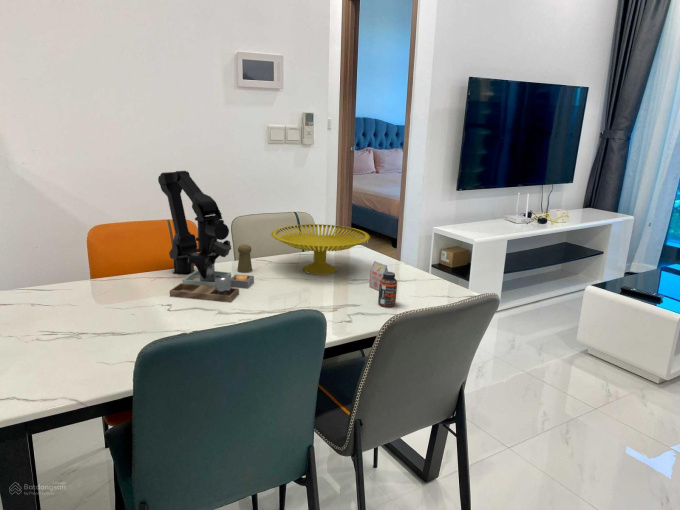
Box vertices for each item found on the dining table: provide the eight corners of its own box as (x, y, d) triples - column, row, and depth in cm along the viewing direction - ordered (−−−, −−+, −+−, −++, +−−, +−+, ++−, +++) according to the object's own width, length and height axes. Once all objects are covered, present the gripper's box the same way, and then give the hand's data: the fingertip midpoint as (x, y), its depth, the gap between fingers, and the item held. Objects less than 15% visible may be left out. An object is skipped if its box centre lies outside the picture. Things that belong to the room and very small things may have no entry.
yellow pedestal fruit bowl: (375, 261, 226) (377, 228, 222) (358, 290, 188) (360, 250, 184) (288, 252, 235) (289, 220, 231) (255, 278, 197) (255, 240, 193)
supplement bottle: (384, 308, 171) (386, 276, 168) (374, 302, 176) (376, 271, 173) (398, 306, 174) (401, 274, 171) (389, 300, 179) (391, 269, 176)
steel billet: (197, 284, 186) (197, 265, 184) (203, 279, 191) (203, 261, 189) (211, 285, 185) (211, 266, 183) (217, 281, 190) (216, 263, 188)
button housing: (228, 289, 183) (228, 280, 182) (235, 283, 190) (235, 274, 189) (247, 291, 182) (247, 281, 181) (253, 285, 189) (253, 275, 188)
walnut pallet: (169, 299, 171) (169, 290, 171) (181, 291, 179) (180, 283, 178) (230, 305, 168) (230, 296, 168) (239, 296, 176) (239, 288, 175)
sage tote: (182, 288, 182) (182, 280, 182) (198, 277, 195) (197, 269, 194) (217, 291, 181) (217, 283, 180) (231, 280, 193) (231, 272, 192)
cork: (254, 270, 207) (254, 243, 204) (250, 274, 201) (250, 247, 198) (239, 269, 207) (239, 242, 204) (235, 273, 201) (234, 246, 198)
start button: (234, 285, 184) (234, 277, 183) (238, 282, 188) (238, 274, 187) (245, 286, 184) (245, 278, 183) (248, 283, 187) (248, 275, 187)
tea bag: (376, 285, 194) (378, 260, 192) (388, 290, 189) (390, 264, 187) (369, 287, 192) (370, 261, 190) (381, 292, 187) (382, 266, 184)
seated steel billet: (212, 298, 171) (212, 278, 169) (218, 293, 175) (218, 274, 174) (227, 300, 170) (227, 280, 168) (233, 295, 175) (233, 275, 173)
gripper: (217, 242, 173) (218, 286, 177) (236, 230, 191) (237, 270, 195) (186, 239, 174) (188, 283, 179) (208, 228, 192) (209, 268, 196)
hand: (207, 276), depth 187 cm, fingers closed on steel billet, 5 cm apart
